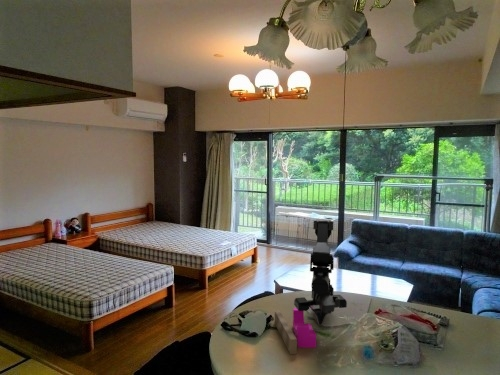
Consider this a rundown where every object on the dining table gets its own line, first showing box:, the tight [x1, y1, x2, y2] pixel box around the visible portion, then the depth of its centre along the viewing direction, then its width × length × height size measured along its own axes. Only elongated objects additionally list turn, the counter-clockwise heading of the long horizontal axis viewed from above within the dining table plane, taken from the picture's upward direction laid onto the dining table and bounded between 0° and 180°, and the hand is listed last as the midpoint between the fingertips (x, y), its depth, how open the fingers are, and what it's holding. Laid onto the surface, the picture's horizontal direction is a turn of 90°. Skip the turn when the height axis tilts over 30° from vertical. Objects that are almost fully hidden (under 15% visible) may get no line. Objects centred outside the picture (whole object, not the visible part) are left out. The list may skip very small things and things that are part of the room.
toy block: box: [292, 307, 317, 348], centre depth 124 cm, size 15×6×8 cm, turn 179°
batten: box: [274, 310, 298, 355], centre depth 123 cm, size 22×2×5 cm, turn 10°
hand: (319, 324), depth 126 cm, fingers closed
